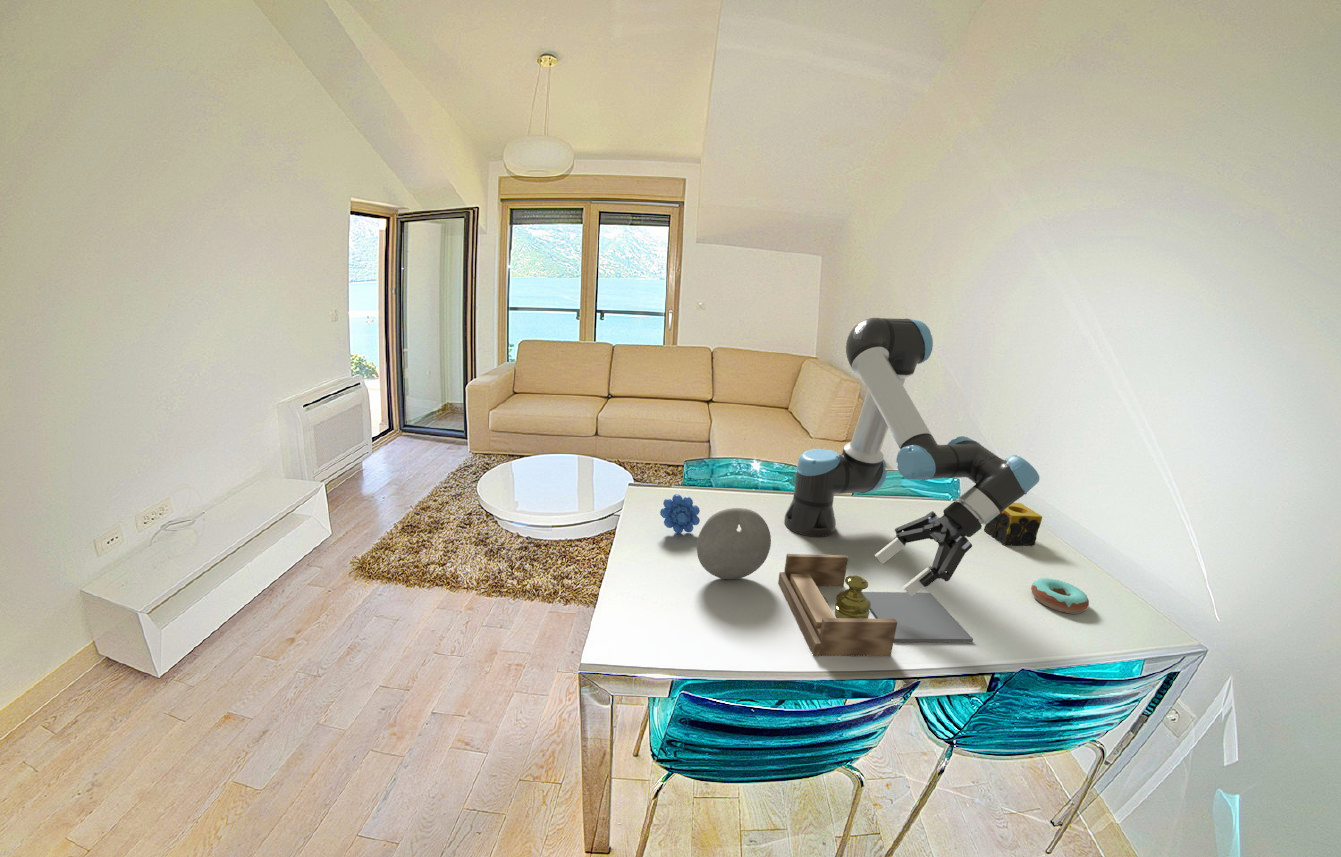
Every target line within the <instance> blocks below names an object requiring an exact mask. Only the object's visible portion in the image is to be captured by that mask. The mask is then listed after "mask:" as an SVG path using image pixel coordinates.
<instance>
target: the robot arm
mask: <svg viewBox="0 0 1341 857" xmlns="http://www.w3.org/2000/svg"><path fill="white" fill-rule="evenodd" d="M849 332H850V333H849V334H848V336H847V340H846V343H845V354H846V358H847V361H848V364H849V366H850V368H851V370H852V371H853V372H854V373H855V374H857V375H859V376H860V377H861V379H862V381H863V383H864V384H865V387H866V388H867V390H866V394H865V397H864V400H863V404H862V406H861V409H860V413H859V417H858V420H857V422H856V425H855V429H854V432H853V435H852V437H851V440H850V441H849V442H847V443H845V444H844V446H843V449H842V452H841V454H839V453H838V452H837V451H835V450H832V449H828V448H826V449H825V448H824V449H823V448H813V449H812V448H811V449H807V450H805V451H804V452H802V453H801V455H800V456H799V457H798V460H797V464H796V475H795V481H794V482H795V483H794V491H793V498H792V500H791V502H790V505H789V507H788V509H787V510H786V513H785V515H784V521H783V523H784V525H785V527H787V528H788V529H789V530H790V531H792V532H794V533H796V534H799V535H802V536H807V537H814V538H815V537H816V538H818V537H819V538H822V537H823V538H824V537H828V536H831V535H833V534H834V533H835V531H836V526H837V524H836V516H835V511H834V506H833V505H834V498H835V495H840V494H856V493H857V494H859V493H860V494H865V493H869V492H874V491H877V490H879V489H880V488H881V487H882V486H883V484H884V483H885V481H886V478H887V476H888V470H886V468H887V463H886V460H885V457H884V456H885V455H884V454H883V453H882V451H881V450H882V447H883V444H884V441H885V439H886V436H887V433H888V429H889V431H890V433H891V434H892V437H893V438H894V440H895V442H896V444H897V445H898V448H899V451H898V452H897V455H896V461H895V462H896V463H897V470H898V472H899V474H900V475H901V476H902V477H903V478H905V479H908V480H912V481H913V480H914V481H915V480H916V481H917V480H918V481H928V480H935V479H936V480H937V479H960V478H967V479H969V480H970V481H972V482H973V483H974V485H973V486H971V487H970V488H969V489H968V490H967V491H965V492H964V493H962V494H961V495H960V496H959V497H958V500H957V501H956V500H955V501H953V502H952V503H950V504H949V505H948V506H947V507H946V508H944V509H943V512H942V513H943V514H942V516H938V515H937V514H936V512H934V511H930V512H929V513H927V514H926V515H924V516H923V517H922V516H921V517H919V518H917V519H915V520H912V521H910V522H908V523H905V524H902V525H900V526H897V527H895V528H894V532H895V534H896V535H895V537H894V538H892V539H891V541H889V542H888V543H887V544H886V545H885V546H884V547H883V548H881V550H879V551H877V553H874V556H875V558H877V560H878V561H879V562H880V563H881V565H884V564H885V563H887V561H889V560H890V559H891V558H893V557H894V556H895V555H896V554H897V553H899V552H900V551H901V550H903V548H905V547H906V546H907V543H913V542H918V541H924V540H928V539H929V540H933V541H934V542H936V543H938V547H937V549H936V553H935V556H934V559H933V561H932V565H931V566H928V567H927V566H926V568H925V569H924V570H922V571H921V572H920V573H918V574H917V575H916V576H914V577H912V579H911V580H909V581H908V582H907V583H906V584H904V585H903V586H902V588H903V589H904V591H905V592H907V593H908V594H909V595H910V596H911V597H912V596H913V595H915V594H916V593H917V592H918V593H919V592H920V591H921V590H922V589H924V588H927V587H928V586H930V585H931V584H932V583H934V582H935V581H937V579H939V580H940V579H942V580H944V581H945V582H949V581H950V580H951V578H952V576H953V575H954V573H955V571H956V569H957V568H958V566H959V564H960V563H961V561H962V560H963V558H964V556H965V555H966V553H967V552H968V551H969V550H971V548H972V547H973V544H972V542H971V541H970V540H969V539H968V538H971V537H972V536H974V535H976V533H978V532H979V531H981V529H982V526H985V525H986V524H987V523H989V522H990V521H991V520H992V519H994V518H995V517H996V516H997V515H999V514H1000V513H1001V512H1002V511H1003V510H1005V509H1006V508H1007V507H1009V506H1010V505H1011V504H1012V503H1016V502H1017V501H1018V500H1020V498H1022V497H1024V496H1026V495H1027V494H1028V493H1029V491H1030V490H1032V489H1033V488H1034V487H1035V486H1036V485H1037V484H1038V483H1039V482H1040V479H1041V478H1040V475H1039V473H1038V471H1037V470H1036V469H1035V467H1034V466H1033V465H1032V464H1031V463H1030V462H1029V461H1027V460H1026V459H1024V458H1023V457H1022V456H1019V455H1018V454H1017V455H1015V454H1013V455H1010V456H1009V457H1007V458H1006V459H1003V458H1001V457H999V455H996V454H995V453H994V452H992V451H990V450H989V449H987V448H986V447H985V446H984V445H983V444H980V443H979V441H975V440H973V439H972V438H970V437H968V436H965V435H964V436H957V437H956V438H954V439H953V438H952V439H951V440H949V442H948V443H947V444H938V443H937V441H936V439H935V438H934V436H933V434H932V433H931V431H930V429H929V428H928V426H927V424H926V423H925V421H924V418H923V417H922V415H921V414H920V413H919V410H918V408H917V407H916V405H915V404H914V402H913V400H912V399H911V397H910V394H909V393H908V392H907V390H906V388H905V386H904V384H905V380H906V378H908V377H910V376H912V375H914V373H915V371H916V369H917V368H916V367H917V365H921V364H923V363H924V362H925V361H926V362H927V360H929V359H930V356H931V354H932V352H933V347H934V339H933V335H932V333H931V330H930V327H928V325H927V324H926V323H924V321H921V320H917V319H911V318H890V317H889V318H883V317H882V318H881V317H870V318H869V317H868V318H866V319H863V320H862V321H860V322H858V323H857V324H856V325H855V326H853V328H852V329H851V331H849Z"/></svg>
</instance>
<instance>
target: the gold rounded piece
mask: <svg viewBox="0 0 1341 857" xmlns="http://www.w3.org/2000/svg"><path fill="white" fill-rule="evenodd" d="M844 583H845V584H846V585H847V586H848V588H847V589H845V590H842V591H840V592H838V594H837V595H836V602H835V605H834V606H835V608H834V616H835V618H864V619H869V616H870V613H871V611H870V610H869V609H870V607H871V602H870V600H869V599H868V598H867V597H866V596H865V595H864V594H863V593H862V592H863V590H866V589H868V588H869V582H868V581H867V579H865V578H863V577H862V576H860V575H858V574H857V575H856V574H855V575H854V574H853V575H848V576H845V581H844Z"/></svg>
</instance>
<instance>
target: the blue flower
mask: <svg viewBox="0 0 1341 857" xmlns="http://www.w3.org/2000/svg"><path fill="white" fill-rule="evenodd" d="M659 514H660V516H661V517H662V518H663V519H664V520H663V525H664V526H665V527H666V528H668V529H671V528H672V530H673V532H674V533H675V534H682V533H683V531H685V532H686V533H692V532H693V530H694V526H698V525H700V521H701V520H700V517H699V516H698V515H700V507H699V506H698V505H696V504H694V501H693V499H692V498H691V497H690V496H684V497H682V495H680V494H679V493H678V494H677V493H676V494H673V495H672V497H671V498H665V499H664V500H663V508H661V509H660V511H659Z"/></svg>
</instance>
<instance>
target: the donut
mask: <svg viewBox="0 0 1341 857" xmlns="http://www.w3.org/2000/svg"><path fill="white" fill-rule="evenodd" d="M1030 590H1031V594H1032V596H1033V597H1034V599H1035V600H1036V601H1038V602H1039V603H1041V604H1042V605H1043V606H1045V607H1047V608H1049V609H1052V610H1053V611H1058V612H1061V613H1065V614H1081V613H1083V612H1085V611H1086V610H1087V609H1088V607H1089V605H1090V600H1089V598H1088V595H1087V594H1086V593H1085V592H1084V591H1083V590H1081V589H1080V588H1079V587H1077V586H1075V585H1073V584H1071V583H1069V582H1065V581H1063V580H1059V579H1057V578H1056V579H1054V578H1048V577H1046V578H1038V579H1036V580H1035V581H1033V583H1032V585H1031V587H1030Z"/></svg>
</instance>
